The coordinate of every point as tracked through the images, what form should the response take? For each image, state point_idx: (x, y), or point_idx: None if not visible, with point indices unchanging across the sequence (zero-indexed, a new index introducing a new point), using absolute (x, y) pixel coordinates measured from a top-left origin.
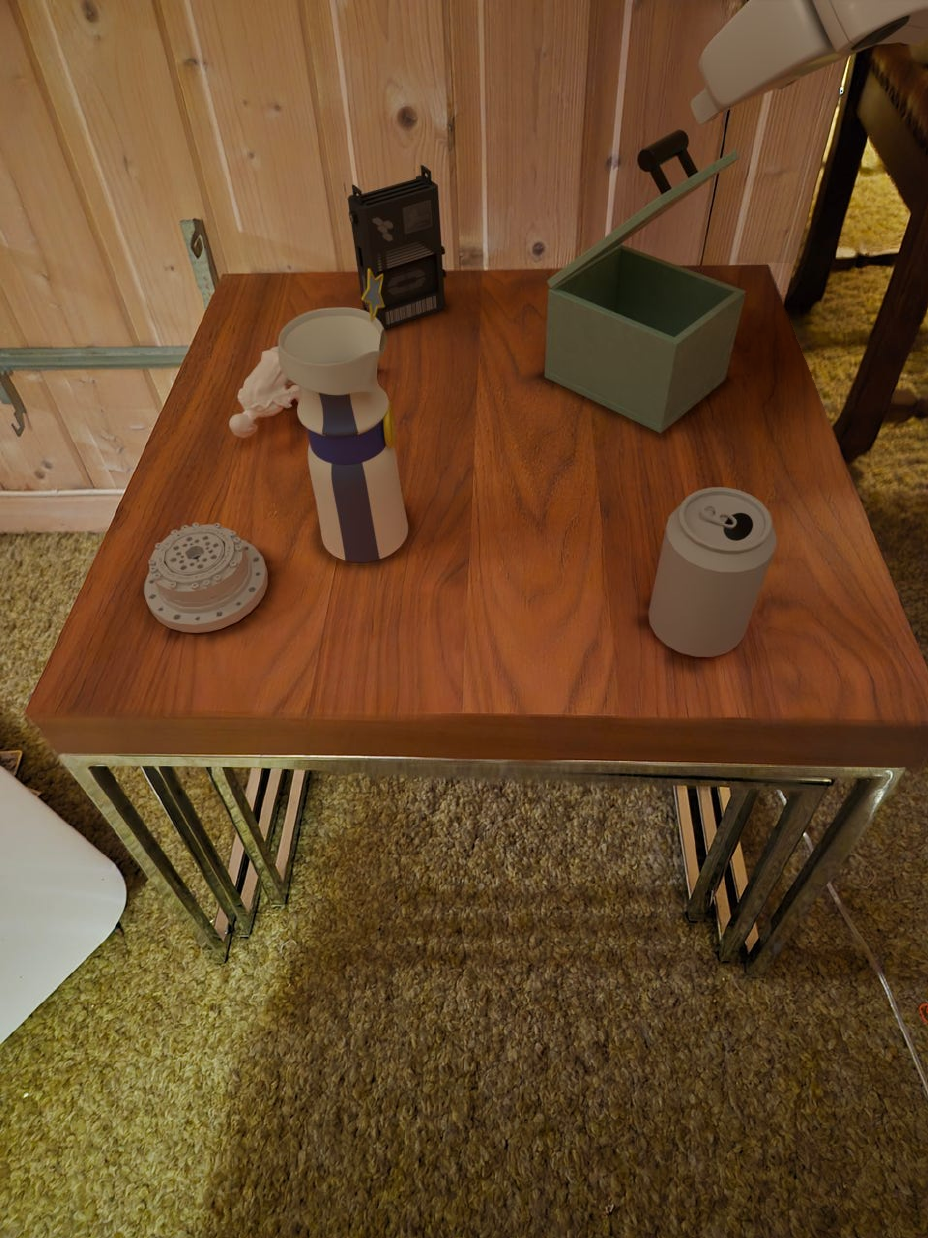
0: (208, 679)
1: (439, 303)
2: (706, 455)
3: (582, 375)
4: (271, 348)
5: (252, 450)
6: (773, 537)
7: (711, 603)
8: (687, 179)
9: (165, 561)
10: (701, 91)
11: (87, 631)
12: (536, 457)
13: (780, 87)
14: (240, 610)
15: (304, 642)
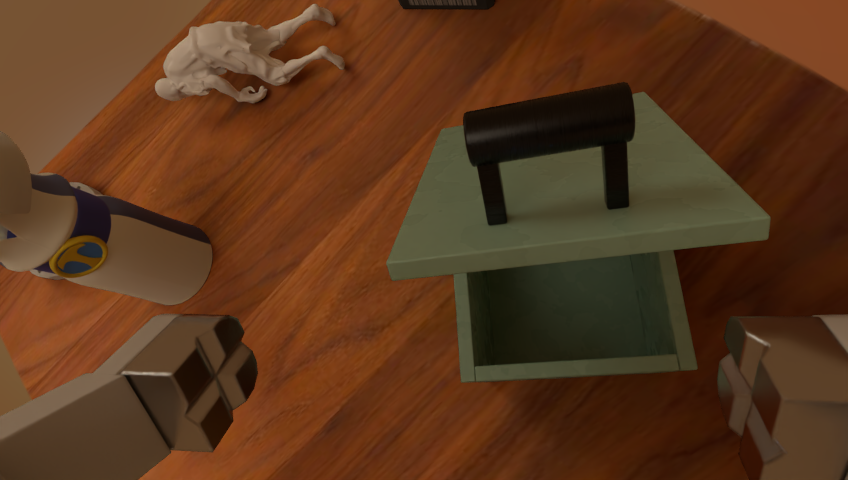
0: (17, 311)
1: (481, 2)
2: (496, 458)
3: None
4: (202, 25)
5: (196, 106)
6: None
7: None
8: (508, 249)
9: None
10: (115, 352)
11: None
12: (352, 300)
13: (722, 405)
14: (51, 277)
15: (69, 334)
